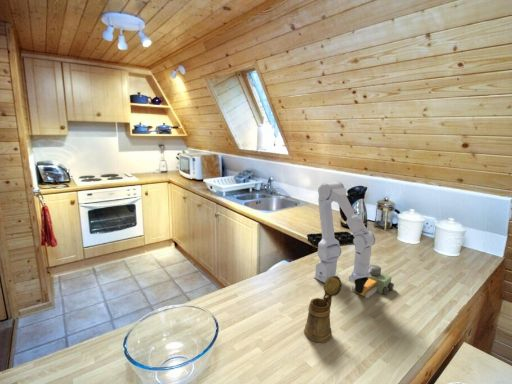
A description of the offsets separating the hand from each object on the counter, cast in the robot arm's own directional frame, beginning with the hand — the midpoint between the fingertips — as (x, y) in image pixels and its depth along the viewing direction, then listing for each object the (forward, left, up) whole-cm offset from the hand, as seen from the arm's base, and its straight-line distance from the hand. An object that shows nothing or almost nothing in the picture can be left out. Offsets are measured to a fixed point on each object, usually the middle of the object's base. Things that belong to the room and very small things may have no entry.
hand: (358, 292), depth 119 cm
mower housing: (+8, 0, -1) cm, 9 cm away
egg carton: (+43, +42, -2) cm, 60 cm away
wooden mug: (-29, -3, -2) cm, 30 cm away
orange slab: (+5, 0, -1) cm, 5 cm away
